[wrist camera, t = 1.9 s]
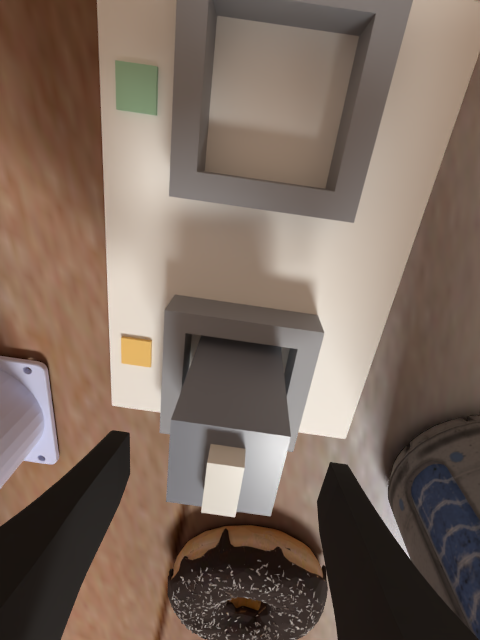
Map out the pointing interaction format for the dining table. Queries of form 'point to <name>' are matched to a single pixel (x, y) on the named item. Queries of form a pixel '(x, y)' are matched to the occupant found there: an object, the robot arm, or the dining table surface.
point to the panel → (269, 182)
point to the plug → (230, 429)
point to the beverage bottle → (443, 512)
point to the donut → (247, 585)
